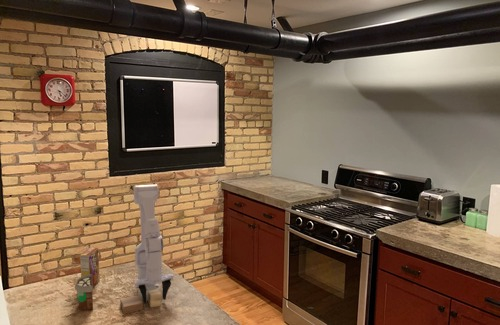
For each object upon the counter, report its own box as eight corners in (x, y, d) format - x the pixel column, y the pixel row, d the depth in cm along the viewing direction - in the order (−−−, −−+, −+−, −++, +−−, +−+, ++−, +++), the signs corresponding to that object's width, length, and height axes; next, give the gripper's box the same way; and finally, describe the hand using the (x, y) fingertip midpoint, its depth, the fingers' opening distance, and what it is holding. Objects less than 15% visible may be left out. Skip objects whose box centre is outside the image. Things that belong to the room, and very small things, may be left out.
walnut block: (120, 306, 146) (120, 298, 146) (138, 302, 149) (138, 294, 149) (123, 314, 140) (123, 306, 140) (142, 310, 143) (142, 302, 143)
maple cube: (148, 303, 148) (148, 291, 147) (158, 300, 150) (158, 289, 149) (150, 307, 145) (150, 295, 144) (161, 305, 146) (160, 293, 146)
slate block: (138, 295, 155) (138, 288, 155) (155, 291, 158) (155, 284, 158) (142, 302, 149) (142, 295, 149) (159, 298, 152) (159, 291, 152)
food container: (75, 300, 149) (74, 275, 148) (92, 297, 152) (91, 273, 151) (75, 315, 138) (74, 289, 137) (93, 312, 141) (92, 286, 139)
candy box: (90, 280, 167) (89, 247, 165) (100, 280, 167) (99, 247, 165) (80, 289, 158) (79, 254, 156) (90, 289, 158) (89, 255, 156)
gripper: (137, 274, 139) (137, 309, 140) (175, 267, 145) (175, 301, 147) (133, 267, 145) (133, 301, 146) (170, 261, 152) (170, 293, 153)
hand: (154, 300), depth 147 cm, fingers open, 7 cm apart
